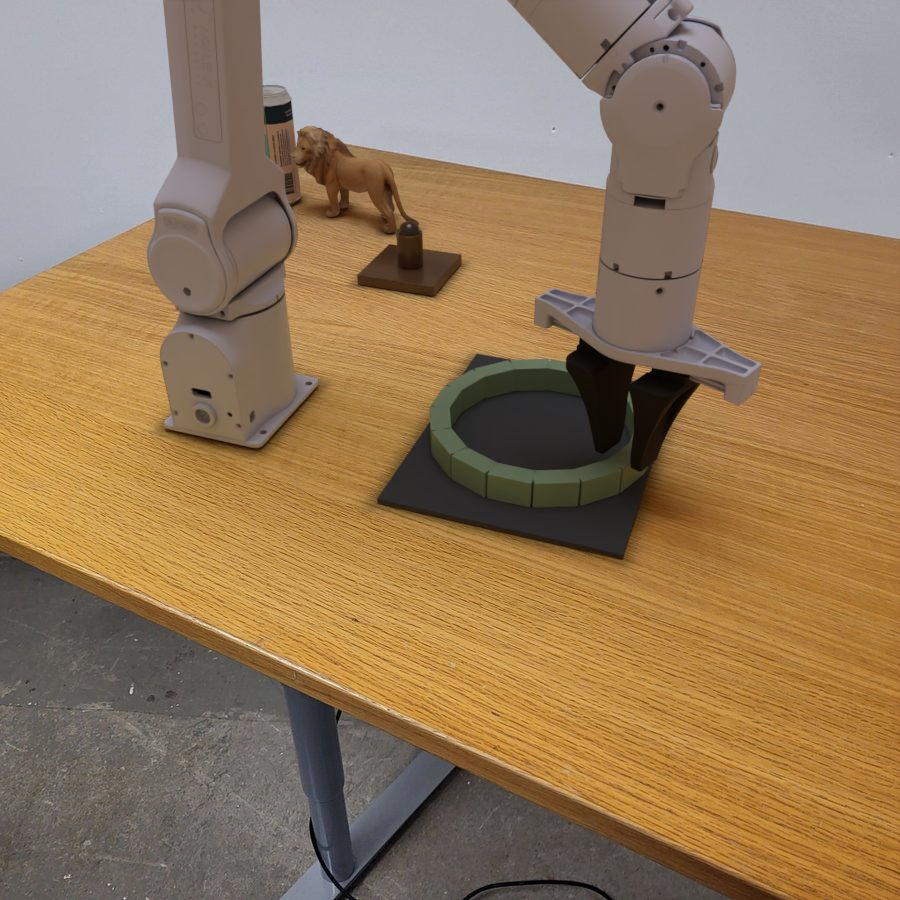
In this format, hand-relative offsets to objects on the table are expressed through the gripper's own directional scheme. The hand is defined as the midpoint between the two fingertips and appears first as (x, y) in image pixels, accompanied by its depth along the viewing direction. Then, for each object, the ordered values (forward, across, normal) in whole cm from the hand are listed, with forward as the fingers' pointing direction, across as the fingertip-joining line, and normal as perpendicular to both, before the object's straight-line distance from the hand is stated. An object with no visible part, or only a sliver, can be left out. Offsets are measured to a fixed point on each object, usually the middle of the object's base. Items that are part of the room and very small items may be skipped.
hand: (625, 454), depth 60 cm
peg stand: (+2, +33, -14) cm, 36 cm away
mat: (+2, +7, 0) cm, 7 cm away
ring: (+2, +7, 0) cm, 7 cm away
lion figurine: (+3, +48, -20) cm, 52 cm away
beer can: (+3, +58, -18) cm, 60 cm away
